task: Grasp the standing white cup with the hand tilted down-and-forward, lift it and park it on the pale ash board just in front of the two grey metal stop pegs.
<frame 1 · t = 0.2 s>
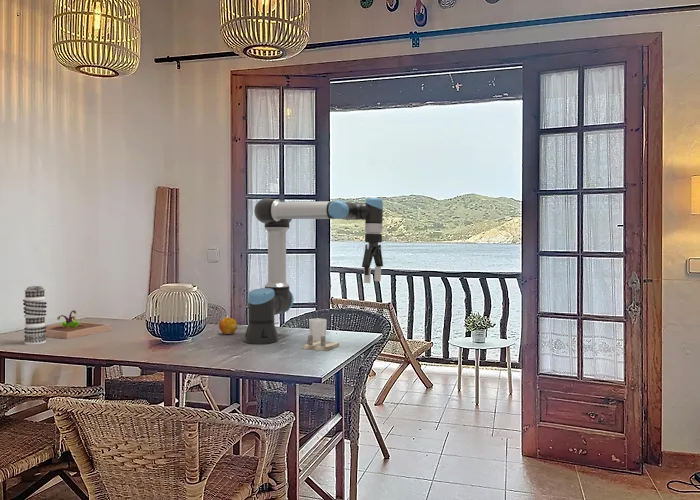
hand: (372, 282, 245), 27 cm above the table, tool pointing down, fingers open, 13 cm apart
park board: (321, 347, 239), on the table
decorative candle: (35, 343, 248), on the table
fruit: (228, 334, 271), on the table
white cup: (317, 342, 251), on the table
planter tray: (71, 332, 274), on the table
plant: (71, 333, 274), resting in planter tray
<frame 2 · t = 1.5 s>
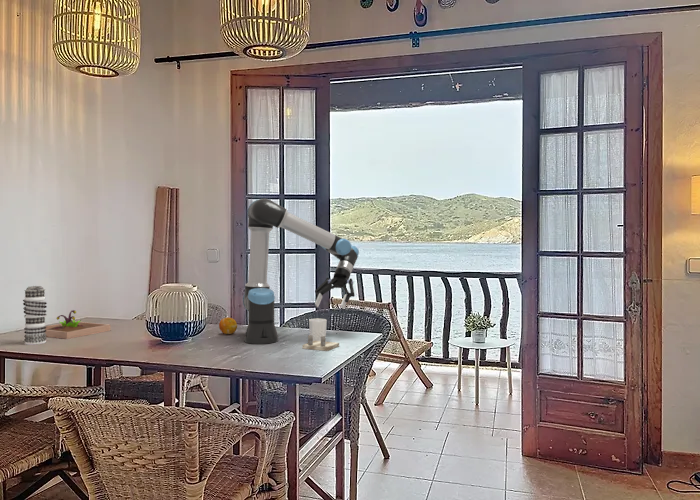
hand: (329, 306, 260), 15 cm above the table, tool tilted 45°, fingers open, 13 cm apart
nothing on the table moved.
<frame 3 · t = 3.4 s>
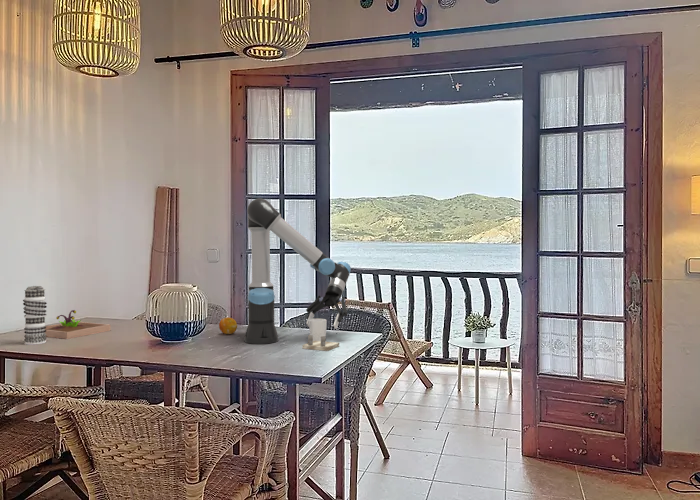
hand: (321, 326, 252), 7 cm above the table, tool tilted 45°, fingers open, 13 cm apart
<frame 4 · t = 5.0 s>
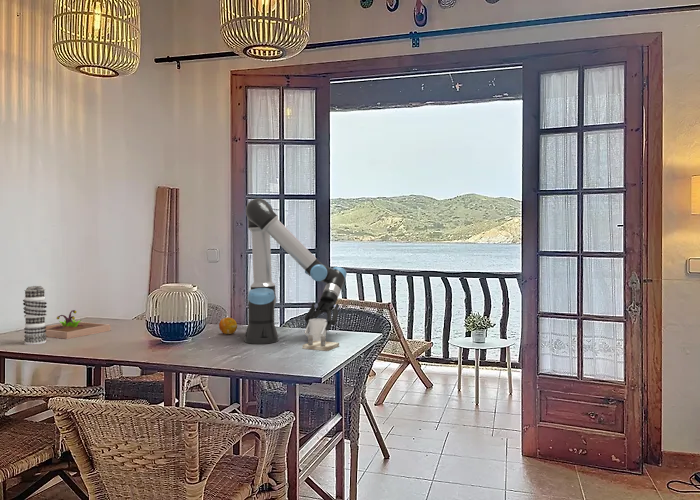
hand: (314, 335, 248), 4 cm above the table, tool tilted 45°, fingers closed on white cup, 8 cm apart
white cup: (317, 342, 251), on the table, touching gripper
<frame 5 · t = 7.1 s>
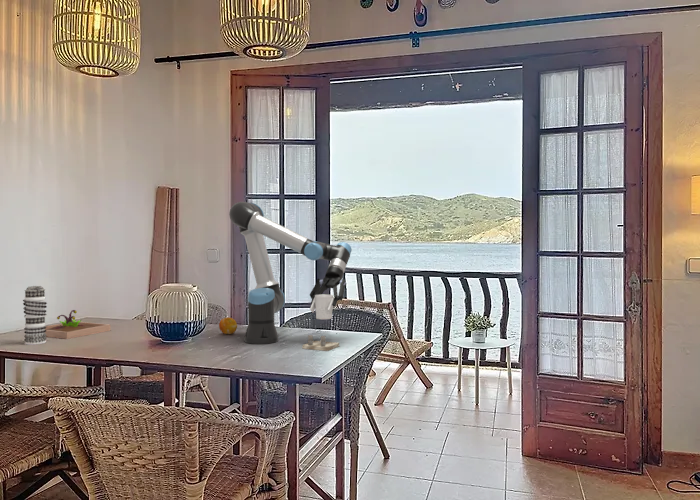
hand: (320, 311, 239), 15 cm above the table, tool tilted 45°, fingers closed on white cup, 8 cm apart
white cup: (323, 318, 242), point 12 cm above the table, touching gripper
when the fingers open (7 cm above the table, at t = 9.4 s): white cup drops 1 cm, resting on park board.
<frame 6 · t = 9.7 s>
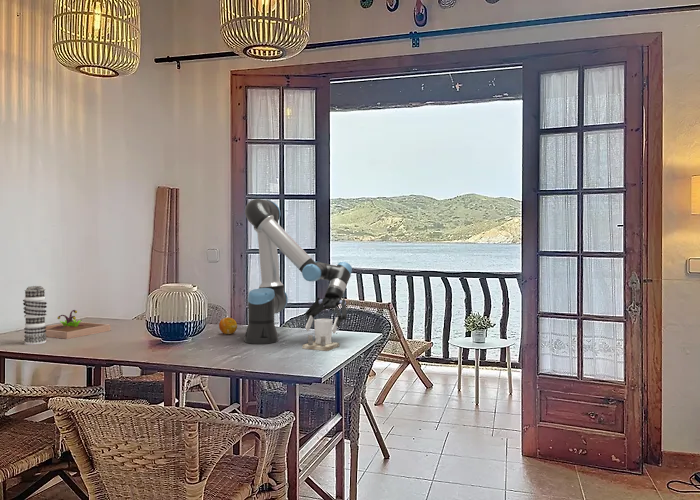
hand: (319, 330, 238), 7 cm above the table, tool tilted 45°, fingers open, 12 cm apart
white cup: (323, 343, 240), point 1 cm above the table, touching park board
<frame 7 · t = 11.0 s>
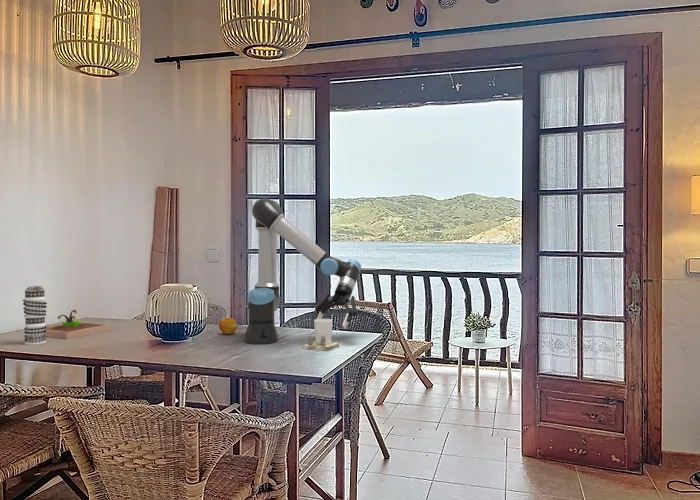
hand: (330, 326, 245), 8 cm above the table, tool tilted 45°, fingers open, 13 cm apart
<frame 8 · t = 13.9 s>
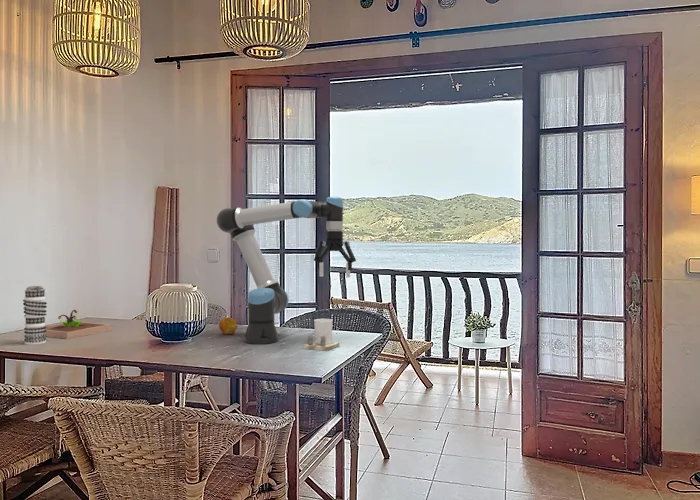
hand: (334, 277, 257), 29 cm above the table, tool pointing down, fingers open, 13 cm apart
at the end: white cup inside the target area (0.5 cm from its centre), point 1.3 cm above the table; white cup tilted 0°; the gripper is holding nothing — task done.
